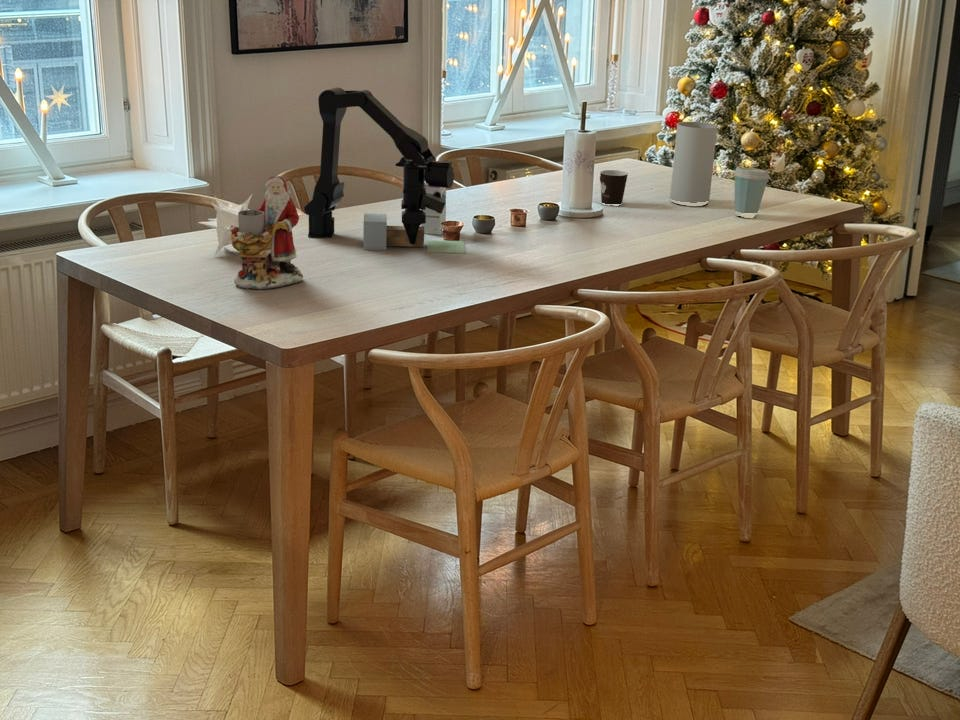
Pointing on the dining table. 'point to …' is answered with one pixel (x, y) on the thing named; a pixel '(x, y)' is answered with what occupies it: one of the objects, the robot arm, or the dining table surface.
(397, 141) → the robot arm
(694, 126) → the cylinder vase
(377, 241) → the upright grey block
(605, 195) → the coffee mug
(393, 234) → the walnut block
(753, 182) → the disposable coffee cup
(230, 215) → the star ornament
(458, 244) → the green mat
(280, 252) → the santa figurine
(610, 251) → the dining table surface
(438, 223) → the syrup box
